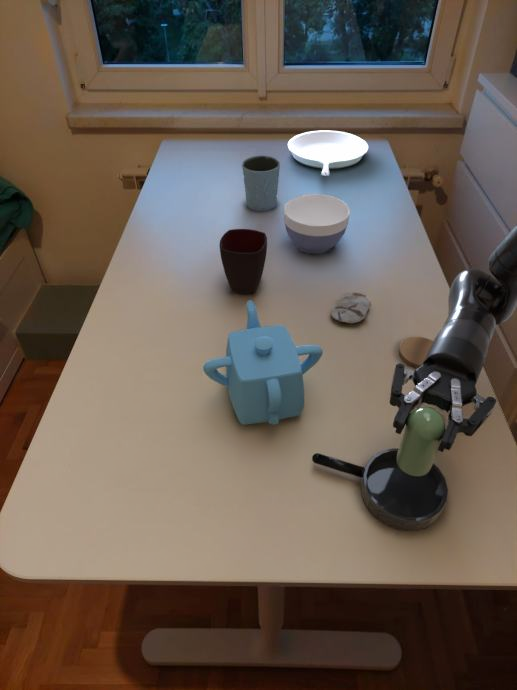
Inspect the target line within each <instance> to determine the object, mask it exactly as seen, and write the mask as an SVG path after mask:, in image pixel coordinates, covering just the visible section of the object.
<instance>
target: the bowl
mask: <svg viewBox="0 0 517 690" xmlns="http://www.w3.org/2000/svg"><path fill="white" fill-rule="evenodd" d="M350 216H351V209H350V207H349V205H348V204H347V203H346V202H345V201H343V200H342V199H340V198H337V197H336V196H332V195H328V194H320V193H308V194H302V195H298V196H295V197H292V198H291V199H289V200H288V201H287V202H286V203H285V204H284V207H283V221H284V226H285V231H286V234H287V235H288V237H289V239H290V240H291V242H292V243H293V244H295V245H296V247H297V248H298V249H299V250H300V251H302V252H305V253H308V254H316V255H317V254H323V253H326V252H328V251H330V250H331V249H332V248H333V247H334V246H336V245H337V244H338V243H339V242H340V241H341V239H342V238H343V237H344V235H345V234H346V229H347V228H348V225H349V220H350Z"/></svg>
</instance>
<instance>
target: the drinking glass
mask: <svg viewBox="0 0 517 690" xmlns="http://www.w3.org/2000/svg"><path fill="white" fill-rule="evenodd" d="M280 166H281V162H280V160H279V159H277V158H276V157H273V156H270V155H254V156H253V155H252V156H250V157H247V158H245V159H244V160H243V161H242V163H241V167H242V174H243V182H244V184H243V185H244V193H245V202H246V207H248V209H249V210H253V211H255V212H267V211H270V210H273V209H274V208H275V207H277V203H278V197H277V196H278V191H279V190H278V188H279V177H280V168H281V167H280Z"/></svg>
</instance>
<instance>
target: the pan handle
mask: <svg viewBox="0 0 517 690" xmlns="http://www.w3.org/2000/svg"><path fill="white" fill-rule="evenodd" d="M311 461H312V462H313V463H314V464H316V465H319V466H321V467H325V468H329V469H332V470H335V471H338V472H342V473H344V474H348V475H350V476H354V477H357V478H362V479H363V474H364V471H365V466H361V465H359V464H355V463H351V462H348V461H344V460H341V459H338V458H335V457H332V456H327V455H326V454H322V453H319V452H318V453H317V452H315V453H313V455H312V457H311Z"/></svg>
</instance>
